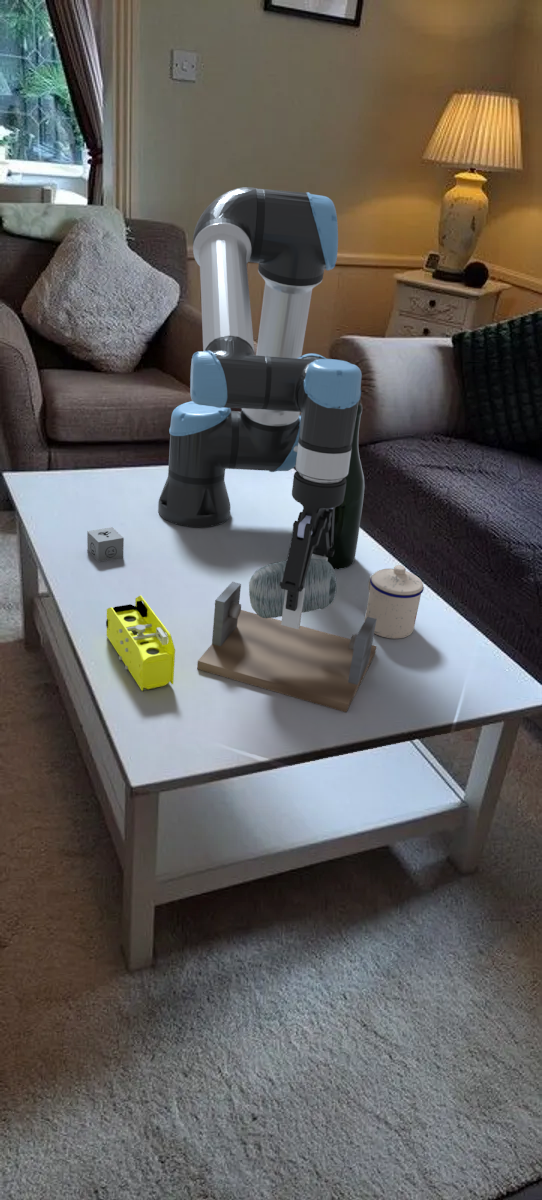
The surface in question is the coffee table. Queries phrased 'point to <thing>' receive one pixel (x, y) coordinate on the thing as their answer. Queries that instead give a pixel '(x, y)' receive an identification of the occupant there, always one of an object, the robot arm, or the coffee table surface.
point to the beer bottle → (349, 508)
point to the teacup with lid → (394, 601)
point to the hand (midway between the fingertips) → (302, 608)
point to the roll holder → (287, 655)
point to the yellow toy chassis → (142, 643)
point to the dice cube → (105, 544)
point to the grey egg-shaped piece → (271, 596)
